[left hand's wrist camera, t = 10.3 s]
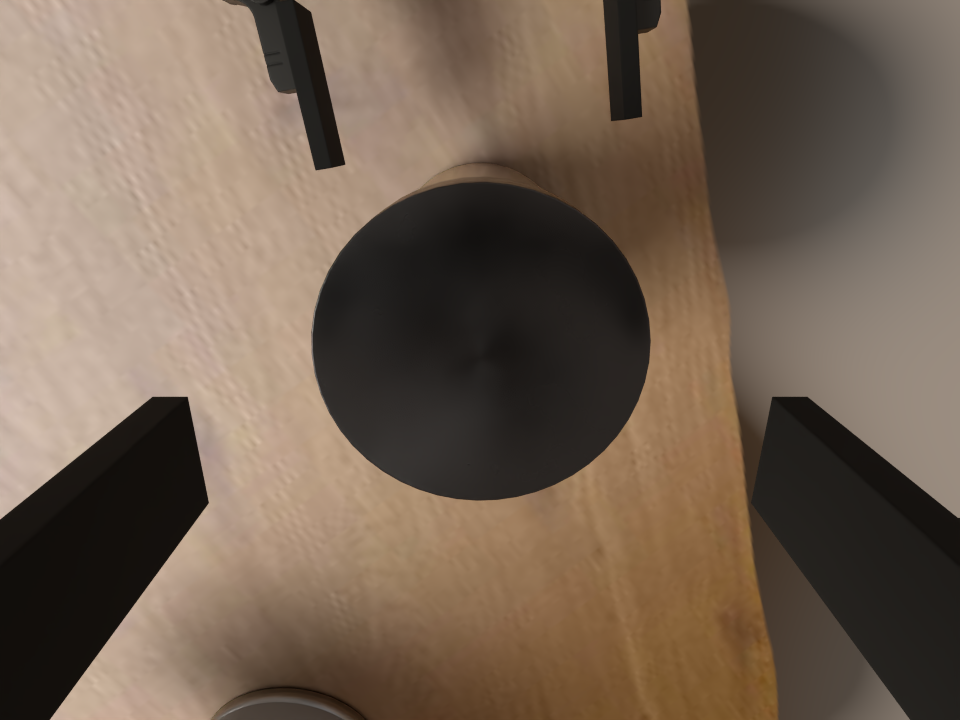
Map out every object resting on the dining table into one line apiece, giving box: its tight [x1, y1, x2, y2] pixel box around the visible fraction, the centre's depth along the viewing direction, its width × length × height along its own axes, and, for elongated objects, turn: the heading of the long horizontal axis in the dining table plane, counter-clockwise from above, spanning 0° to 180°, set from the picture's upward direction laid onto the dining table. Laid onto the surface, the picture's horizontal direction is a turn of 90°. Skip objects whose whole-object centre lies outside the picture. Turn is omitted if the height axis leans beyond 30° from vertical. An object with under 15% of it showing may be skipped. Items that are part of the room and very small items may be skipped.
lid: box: [311, 177, 651, 500], centre depth 20 cm, size 11×11×2 cm
